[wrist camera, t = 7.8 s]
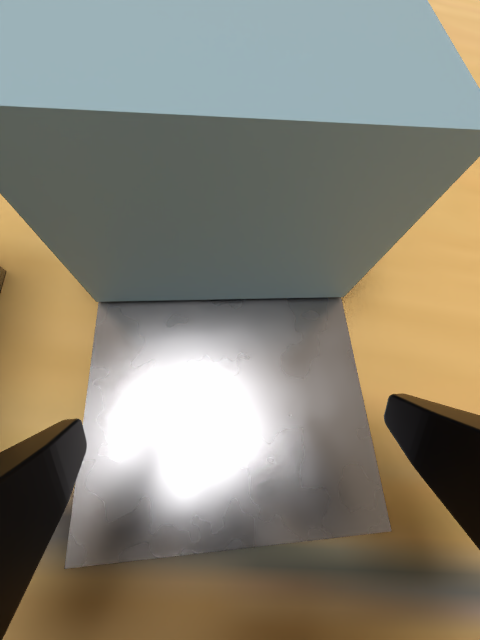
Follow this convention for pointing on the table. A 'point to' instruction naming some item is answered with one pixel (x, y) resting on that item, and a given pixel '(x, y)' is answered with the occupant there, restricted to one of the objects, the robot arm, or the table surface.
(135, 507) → the dark grey case
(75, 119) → the pale blue box
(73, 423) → the robot arm
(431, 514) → the table surface
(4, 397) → the table surface
